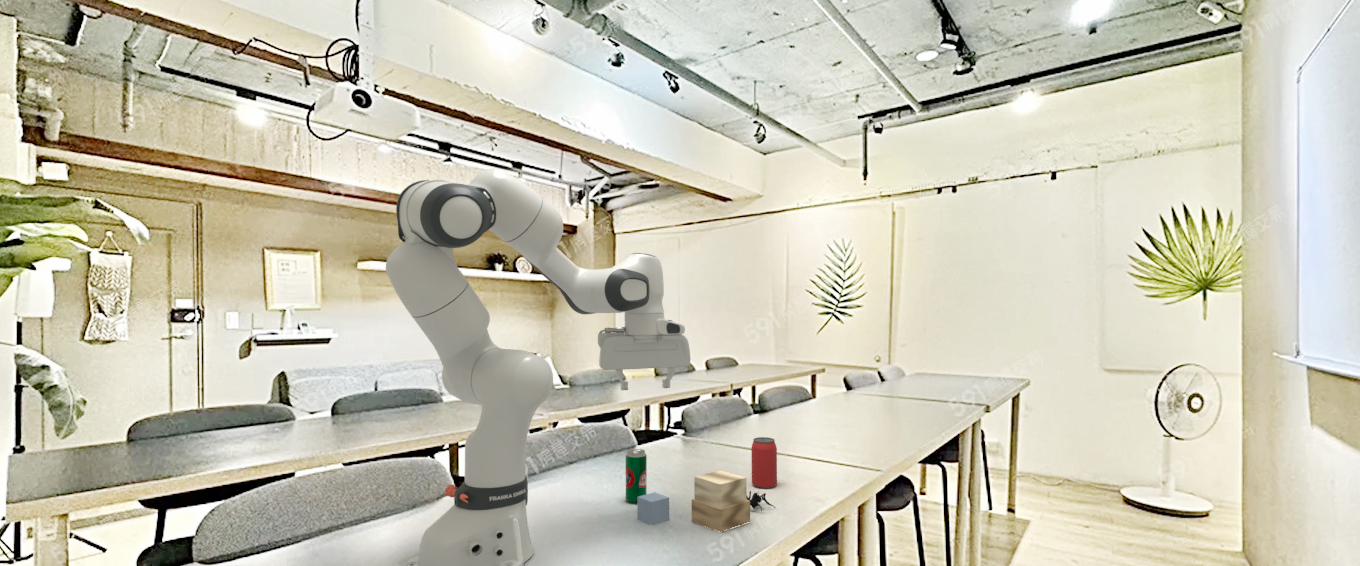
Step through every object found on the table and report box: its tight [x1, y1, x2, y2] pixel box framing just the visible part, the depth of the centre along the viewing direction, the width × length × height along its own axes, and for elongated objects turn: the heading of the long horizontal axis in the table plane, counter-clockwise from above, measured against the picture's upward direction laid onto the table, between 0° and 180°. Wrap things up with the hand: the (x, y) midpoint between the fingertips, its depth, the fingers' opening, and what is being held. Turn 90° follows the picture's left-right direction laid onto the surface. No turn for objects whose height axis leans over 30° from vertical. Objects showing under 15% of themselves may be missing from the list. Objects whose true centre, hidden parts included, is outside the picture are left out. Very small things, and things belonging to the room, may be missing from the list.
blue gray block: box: [636, 491, 670, 526], centre depth 136 cm, size 5×5×5 cm
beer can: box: [751, 436, 778, 489], centre depth 162 cm, size 7×7×12 cm
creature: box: [747, 490, 776, 512], centre depth 144 cm, size 8×5×8 cm
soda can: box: [625, 448, 648, 504], centre depth 149 cm, size 5×5×12 cm
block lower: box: [691, 498, 751, 532], centre depth 134 cm, size 9×9×5 cm
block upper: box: [693, 469, 748, 509], centre depth 134 cm, size 8×8×5 cm
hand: (645, 388), depth 137 cm, fingers open, 8 cm apart
